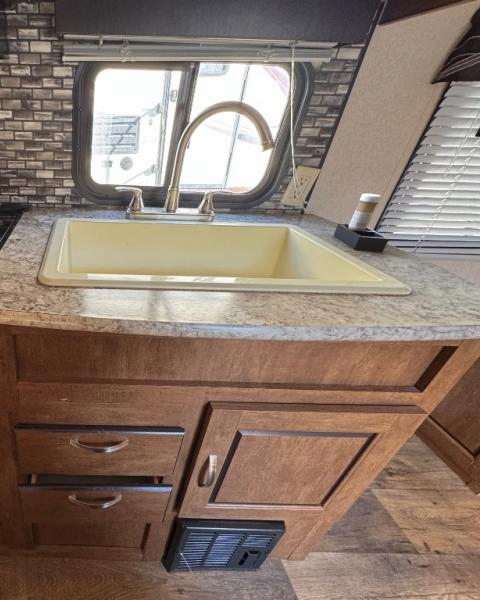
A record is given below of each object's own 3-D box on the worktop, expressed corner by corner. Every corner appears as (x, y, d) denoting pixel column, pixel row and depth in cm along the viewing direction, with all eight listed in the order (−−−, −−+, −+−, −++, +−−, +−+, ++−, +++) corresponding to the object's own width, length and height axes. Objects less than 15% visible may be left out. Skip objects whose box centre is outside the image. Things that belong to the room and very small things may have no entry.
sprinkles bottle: (362, 237, 101) (382, 194, 94) (360, 240, 98) (381, 196, 92) (344, 234, 104) (363, 192, 97) (342, 237, 101) (361, 194, 94)
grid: (358, 237, 104) (364, 225, 102) (382, 252, 92) (389, 238, 90) (333, 235, 105) (338, 223, 103) (353, 249, 94) (359, 236, 91)
